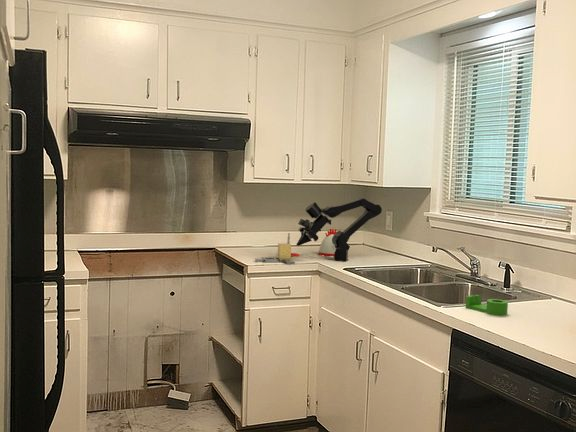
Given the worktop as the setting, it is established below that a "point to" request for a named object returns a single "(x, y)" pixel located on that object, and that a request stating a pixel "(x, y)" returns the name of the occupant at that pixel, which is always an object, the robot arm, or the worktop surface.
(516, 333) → the worktop surface
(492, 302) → the green ring bracket
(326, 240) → the kitchen timer
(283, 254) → the yellow block
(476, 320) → the worktop surface
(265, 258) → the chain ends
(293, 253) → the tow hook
